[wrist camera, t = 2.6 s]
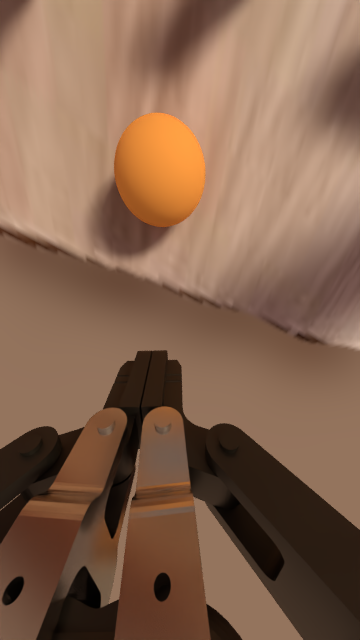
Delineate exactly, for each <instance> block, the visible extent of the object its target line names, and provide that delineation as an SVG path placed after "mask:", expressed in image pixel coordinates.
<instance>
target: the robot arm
mask: <svg viewBox="0 0 360 640" xmlns="http://www.w3.org/2000/svg"><path fill="white" fill-rule="evenodd" d="M167 356H168V355H167V351H166V350H164V351H138V352H137V355H136V358H135V361H127V362H126V363H125V364H124V365H123V366H122V367H121V368H120V370H119V372H118V375H117V377H116V380H115V383H114V384H113V386H112V389H111V391H110V394H109V396H108V398H107V401H106V403H105V405H104V408H103V410H101V411H99V412H98V413H96V414H95V415H93V416H92V417H91V418H90V419H89V421H88V422H87V424H86V425H85V427H83V428H80V429H78V430H74V431H71V432H68V433H65V434H61V435H58V433H57V431H56V430H55V429H54V428H52V427H48V426H46V427H45V426H44V427H39V428H36V429H33V430H31V431H29V432H27V433H25V434H24V435H22V436H20V437H19V438H17V439H16V440H14V441H13V442H11V443H10V444H8V445H6V446H5V447H3V448H2V449H0V509H1V508H3V507H4V506H5V505H7V504H8V503H9V502H10V501H11V500H13V499H14V498H15V497H16V496H18V495H19V494H20V495H19V496H18V497H17V498H15V499H14V500H13V501H12V502H10V503H9V504H8V505H7V506H6V507H4V508H3V509H2V510H1V511H0V640H242V639H241V637H240V635H239V634H238V633H237V632H236V631H235V629H234V628H233V627H232V626H231V625H230V623H229V622H228V621H227V620H226V619H225V618H224V617H223V616H222V615H220V614H219V613H218V612H217V611H216V610H215V609H213V608H212V607H211V606H209V605H207V604H206V597H205V589H204V581H203V572H202V564H201V556H200V547H199V539H198V531H197V522H196V515H195V506H194V499H193V497H196V498H198V499H200V500H203V501H205V503H206V504H207V506H208V508H209V509H210V511H211V512H212V513H213V515H214V516H215V518H216V519H217V520H218V522H219V523H220V525H221V526H222V527H223V529H224V530H225V532H226V533H227V534H228V535H229V537H230V538H231V540H232V541H233V543H234V544H235V545H236V547H237V548H238V549H239V551H240V552H241V553H242V555H243V556H244V558H245V559H246V560H247V562H248V563H249V565H250V566H251V567H252V569H253V570H254V572H255V573H256V574H257V576H258V577H259V579H260V580H261V581H262V583H263V584H264V586H265V587H266V588H267V590H268V591H269V592H270V594H271V595H272V596H273V598H274V599H275V601H276V602H277V604H278V605H279V606H280V608H281V609H282V611H283V612H284V613H285V615H286V616H287V617H288V619H289V620H290V621H291V623H292V624H293V626H294V627H295V629H296V630H297V631H298V633H299V634H300V635H301V637H302V638H303V640H360V530H359V529H358V528H357V527H355V526H354V525H353V524H352V523H351V522H349V521H348V520H347V519H346V518H345V517H344V516H342V515H341V514H340V513H339V512H338V511H336V510H335V509H334V508H333V507H332V506H331V505H329V504H328V503H327V502H326V501H325V500H324V499H322V498H321V497H320V496H319V495H318V494H316V493H315V492H314V491H313V490H312V489H310V488H309V487H308V486H307V485H306V484H305V483H303V482H302V481H301V480H300V479H299V478H298V477H296V476H295V475H294V474H293V473H292V472H290V471H289V470H288V469H287V468H286V467H284V466H283V465H282V464H281V463H280V462H279V461H277V460H276V459H275V458H274V457H273V456H271V455H270V454H269V453H268V452H267V451H266V450H264V449H263V448H262V447H261V446H260V445H258V444H257V443H256V442H255V441H254V440H253V439H251V438H250V437H249V436H248V435H247V434H245V433H244V432H243V431H242V430H241V429H239V428H237V427H236V426H234V425H231V424H225V423H224V424H217V425H215V426H213V427H212V428H211V429H210V430H208V429H205V428H202V427H198V426H196V425H194V424H192V423H191V422H190V421H189V420H187V418H186V417H185V415H184V413H183V408H182V374H181V365H180V364H179V362H178V361H177V360H168V357H167ZM138 449H140V455H139V465H138V476H137V485H136V492H135V496H134V497H133V498H132V501H131V505H130V511H129V519H128V527H127V536H126V544H125V553H124V562H123V570H122V578H121V588H120V596H119V600H117V601H114V602H112V603H110V604H109V599H110V595H111V591H112V587H113V582H114V577H115V571H116V565H117V551H118V543H119V537H120V532H121V528H122V524H123V520H124V516H125V512H126V508H127V504H128V500H129V495H130V492H131V488H132V483H133V479H134V475H135V470H136V465H135V462H136V457H137V452H138Z"/></svg>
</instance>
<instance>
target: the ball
mask: <svg viewBox="0 0 360 640" xmlns="http://www.w3.org/2000/svg"><path fill="white" fill-rule="evenodd" d="M114 172H115V180H116V184H117V188H118V191H119V193H120V195H121V198H122V200H123V201H124V203H125V205H126V206H127V208H128V209H129V210H130V211H131V212H132V213H133V214H134V215H135V216H136V217H137V218H138V219H140V220H141V221H143V222H145V223H147V224H149V225H152V226H157V227H168V226H173V225H175V224H178V223H180V222H182V221H183V220H185V219H186V218H187V217H188V216H189V215H190V214H191V213H192V212H193V211H194V209H195V208H196V206H197V205H198V203H199V201H200V199H201V196H202V193H203V189H204V184H205V163H204V158H203V154H202V150H201V148H200V145H199V143H198V141H197V139H196V137H195V136H194V134H193V133H192V131H191V130H190V129H189V128H188V127H187V126H186V125H185V124H184V123H183V122H181V121H180V120H178V119H177V118H175V117H173V116H171V115H168V114H164V113H150V114H146V115H143V116H141V117H139V118H137V119H136V120H135V121H133V122H132V123H131V124H130V125H129V126H128V127H127V128H126V130H125V131H124V132H123V134H122V136H121V138H120V140H119V143H118V145H117V149H116V153H115V160H114Z"/></svg>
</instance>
